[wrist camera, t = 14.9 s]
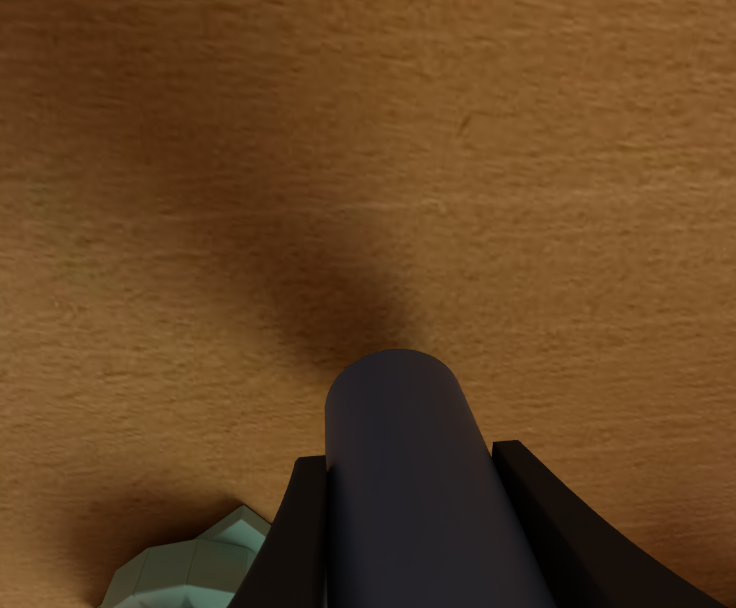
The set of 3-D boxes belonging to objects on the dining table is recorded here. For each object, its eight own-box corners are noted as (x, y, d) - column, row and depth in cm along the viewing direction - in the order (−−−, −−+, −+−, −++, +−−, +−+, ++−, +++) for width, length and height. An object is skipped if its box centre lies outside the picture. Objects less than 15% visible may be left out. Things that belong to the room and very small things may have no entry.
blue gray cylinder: (295, 404, 14) (272, 707, 7) (406, 320, 13) (494, 575, 7) (382, 481, 16) (429, 792, 9) (487, 410, 15) (626, 692, 8)
